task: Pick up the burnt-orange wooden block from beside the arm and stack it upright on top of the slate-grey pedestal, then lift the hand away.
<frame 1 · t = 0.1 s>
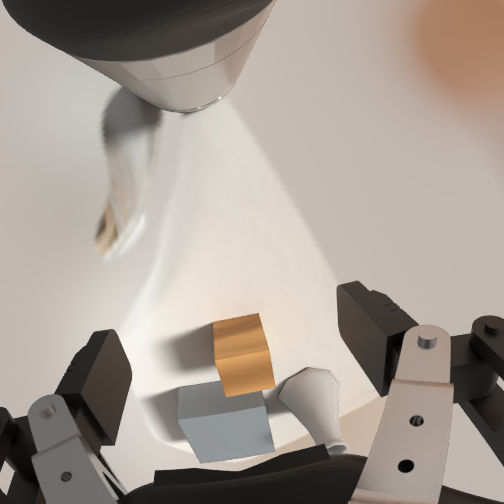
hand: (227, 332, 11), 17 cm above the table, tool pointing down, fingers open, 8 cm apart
pedestal: (226, 406, 34), on the table
orange block: (239, 336, 31), on the table
flask: (307, 387, 35), on the table
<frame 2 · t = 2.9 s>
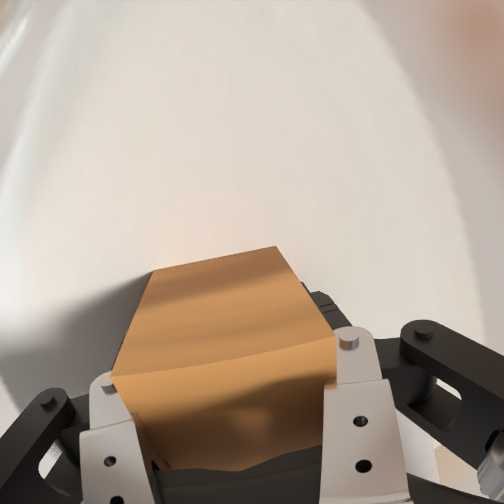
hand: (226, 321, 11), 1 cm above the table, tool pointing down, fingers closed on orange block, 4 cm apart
orange block: (226, 313, 12), on the table, touching gripper
flask: (369, 426, 16), on the table
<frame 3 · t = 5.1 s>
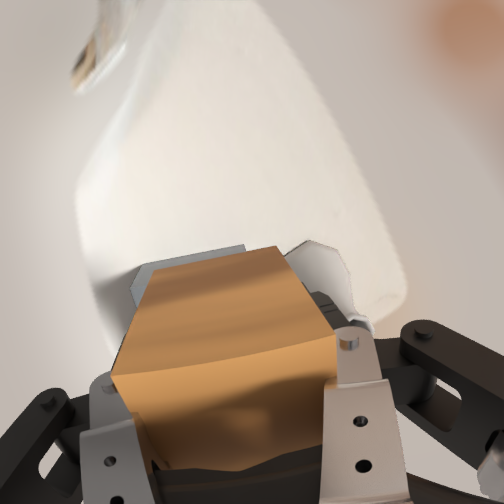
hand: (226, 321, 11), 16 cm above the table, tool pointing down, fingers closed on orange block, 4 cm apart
pedestal: (203, 300, 28), on the table
orange block: (226, 312, 12), point 15 cm above the table, touching gripper
flask: (309, 277, 29), on the table
when the fingers open (6 cm above the table, at t = 7.6 s): orange block stays where it is, resting on pedestal.
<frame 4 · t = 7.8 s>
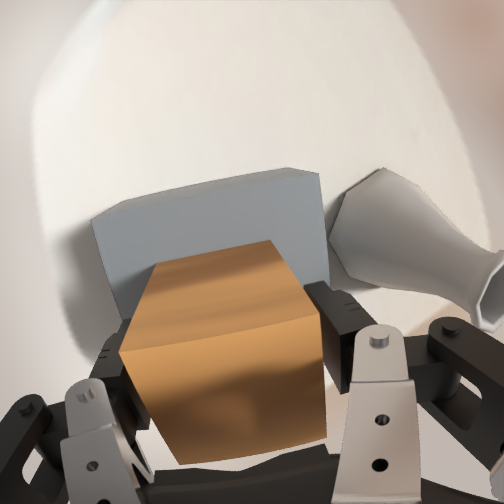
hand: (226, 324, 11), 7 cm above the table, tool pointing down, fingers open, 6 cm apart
pedestal: (220, 262, 18), on the table
orange block: (224, 302, 13), point 5 cm above the table, touching pedestal
flask: (381, 228, 19), on the table
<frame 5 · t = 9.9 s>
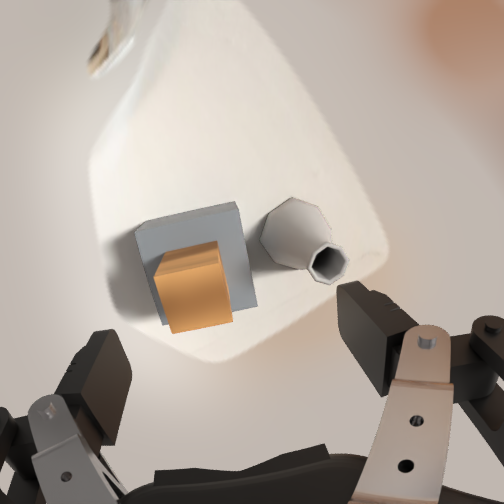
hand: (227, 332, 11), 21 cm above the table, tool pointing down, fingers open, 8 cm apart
pedestal: (199, 254, 32), on the table
orange block: (197, 270, 27), point 5 cm above the table, touching pedestal
flask: (295, 233, 33), on the table
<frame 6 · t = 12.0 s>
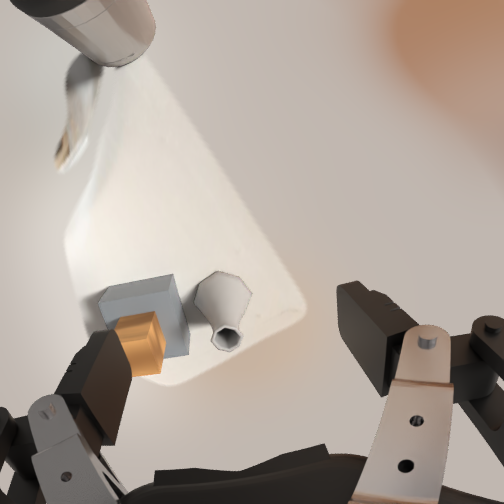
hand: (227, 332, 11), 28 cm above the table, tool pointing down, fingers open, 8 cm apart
pedestal: (149, 311, 40), on the table
orange block: (143, 330, 36), point 5 cm above the table, touching pedestal
flask: (222, 296, 41), on the table
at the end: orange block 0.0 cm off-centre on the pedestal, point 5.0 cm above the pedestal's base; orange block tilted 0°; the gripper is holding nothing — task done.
